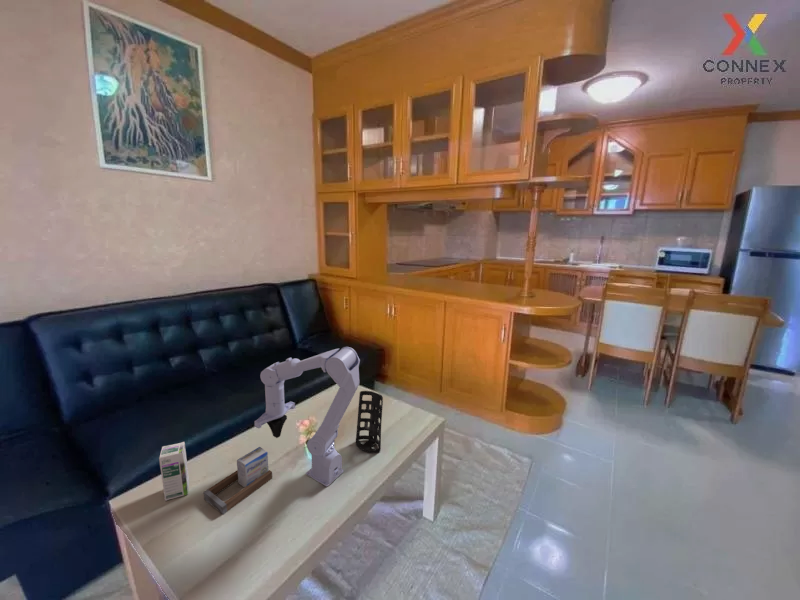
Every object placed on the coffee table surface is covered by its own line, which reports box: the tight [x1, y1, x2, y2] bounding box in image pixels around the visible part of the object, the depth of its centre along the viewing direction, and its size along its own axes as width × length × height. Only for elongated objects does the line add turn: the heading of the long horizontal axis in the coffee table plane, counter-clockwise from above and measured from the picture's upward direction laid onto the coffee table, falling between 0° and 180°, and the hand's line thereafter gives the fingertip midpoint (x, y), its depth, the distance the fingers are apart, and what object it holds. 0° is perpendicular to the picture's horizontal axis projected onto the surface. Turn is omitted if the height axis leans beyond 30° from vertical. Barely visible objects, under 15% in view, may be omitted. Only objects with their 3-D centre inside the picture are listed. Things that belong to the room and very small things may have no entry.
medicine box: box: [236, 446, 269, 488], centre depth 104 cm, size 8×4×9 cm, turn 146°
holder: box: [355, 390, 384, 454], centre depth 121 cm, size 11×8×20 cm
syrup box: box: [158, 441, 190, 502], centre depth 97 cm, size 6×6×14 cm
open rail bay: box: [203, 469, 273, 515], centre depth 100 cm, size 9×16×2 cm, turn 148°
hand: (276, 436), depth 111 cm, fingers closed
